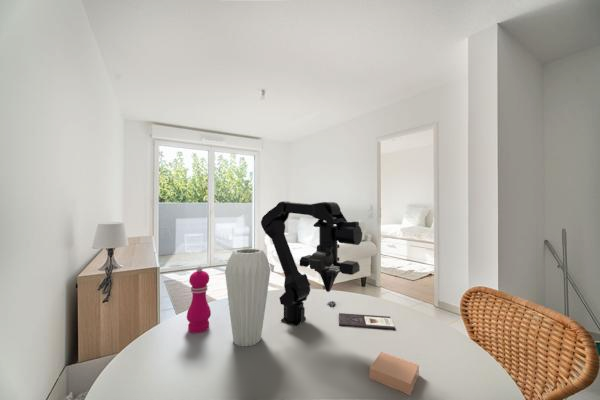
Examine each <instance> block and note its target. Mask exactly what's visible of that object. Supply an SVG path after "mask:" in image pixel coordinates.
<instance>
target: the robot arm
mask: <svg viewBox="0 0 600 400" xmlns="http://www.w3.org/2000/svg"><path fill="white" fill-rule="evenodd" d="M290 214H295V215H296V214H297V215H298V214H299V215H304V216H305V215H306V216H311V217H312V218H314V219H316V220H317V221H316V222H315V223H314V224H313V227H315V228H319V230H318V232H319V233H318V234H319V237H318V238H319V240H318V241H319V244H318V245H316V251H315V252H313V253H312V254H307V255H305V256H301V257H300V259H299V266H300V267H304V268H308V267H309V269H311V270H314V272H317V273H318V274H319V275H320V277H321V280H322V282H323V285H324V289H325V292H328V293H329V292H331V291H332V290H331V289H332V287H333V286H334V283H335V281H336V278H337V277H338V275H339V273H341V274H343V275H349V276H353V275H355V274H356V273H358V272H360V264H359V262H358V261H355V260H354V261H353V260H345V261H342V262H340V257H339V256H338V249H340V244H346V245H353V246H359V245H360V244H361V242H362V240H363V232H362V228H361V226H360V222H359V221H348V220H347V218H346V217H345V216H344V214H343V212H342V211H341V207H340V205H339V203H337V202H333V201H331V202H330V201H323V202H322V201H321V202H316V203H315V202H314V203H304V202H303V203H301V202H291V201H285V200H283V201H279V202H278V203H277V204H276V206H274V207H273V208H271V209H270V210H269V211H267V212H266V213H265V214H264V215H262V218H261V221H260V225H261V227H262V229H263V231H264V233H265V235H267V236H268V237H269V238H270V239H271V241H272V243H273V247H274V249H275V252H276V255H277V258H278V260H279V263H280V266H281V269H282V271H283V274H284V283H283V287H284V293H283V294H282V295H280V296H279V302H280V305H282V306H283V317H282V318H281V320H280V322H283V323H285V324H286V323H287V324H290V325H293V326H298V325H300V324H301V323H302V322H303V321H305V320H306V316H305V314H306V313H305V312H306V311H305V309H306V308H305V306H304V305H305V304H304V301H306V300H307V298H308V296H310V293H311V283H310V282H309V279H308V275H307V274H306V273H304V274H302V273H301V272H299V269H298V267H297V263H296V261H295V259H294V256H293V254H292V250H291V248H290V246H289V244H288V240H287V238H286V236H285V235H286V234H285V232H286V224H285V223H286V222H287V220H288V219H289V216H290ZM338 243H339V244H338Z"/></svg>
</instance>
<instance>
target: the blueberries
mask: <svg viewBox="0 0 600 400" xmlns="http://www.w3.org/2000/svg"><path fill="white" fill-rule="evenodd" d="M326 305H329V306H328V307H330V308H335V306H336V305H337V304H336V302H335V301H334V300H332V301H328V302H327V303H326Z"/></svg>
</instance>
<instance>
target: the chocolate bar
mask: <svg viewBox="0 0 600 400" xmlns="http://www.w3.org/2000/svg"><path fill="white" fill-rule="evenodd" d="M338 327H347V328H348V327H349V328H350V327H351V328H360V329H361V328H364V329H375V330H386V331H387V330H389V331H396V327H395V325H394V322H393V320H392V318H391V316H387V315H373V314H372V315H371V314H358V313H356V314H355V313H345V312H344V313H342V312H341V313H340V312H339V313H338Z"/></svg>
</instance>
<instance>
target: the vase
mask: <svg viewBox="0 0 600 400" xmlns="http://www.w3.org/2000/svg"><path fill="white" fill-rule="evenodd" d="M226 263H227V264H226V266H225V268H224V269H225V271H224V275H225V282H226V283H225V285H226V290H227V298H228V300H227V301H228V307H229V317H230V327H231V332H232V333H231V334H232V341H233V342H232V343H234V345H235V346H236V345H237V347H240V346H241V347H242V348H243V347H249V346H250V347H252V346H253V345H254V346H255V345H256V344H258V343H259V342H261V339H262V333H263V327H264V321H265V320H264V319H265V312H266V304H267V297H268V290H269V283H270V275H271V266H270V263H269V259H268V257H267V255H266V253H265V252H264V250H263V249H260V248H241V249H235V250H233V251H232V253H231V254H230V256H229V257H228V260H227V262H226Z"/></svg>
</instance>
